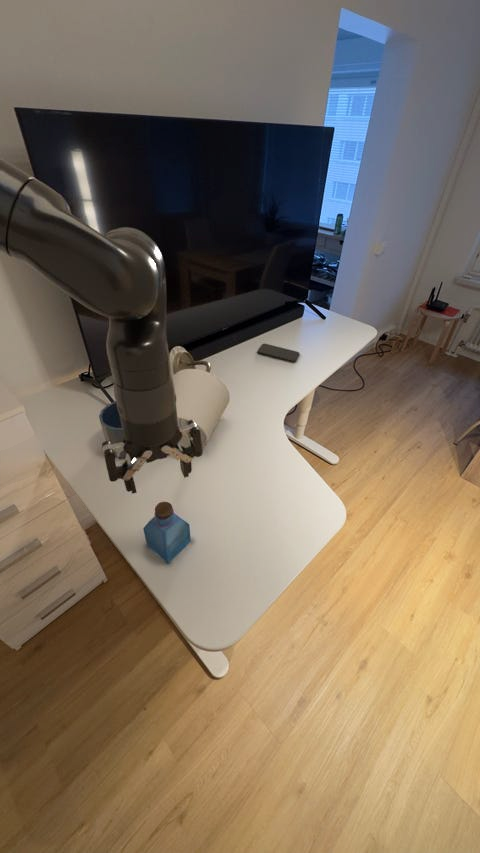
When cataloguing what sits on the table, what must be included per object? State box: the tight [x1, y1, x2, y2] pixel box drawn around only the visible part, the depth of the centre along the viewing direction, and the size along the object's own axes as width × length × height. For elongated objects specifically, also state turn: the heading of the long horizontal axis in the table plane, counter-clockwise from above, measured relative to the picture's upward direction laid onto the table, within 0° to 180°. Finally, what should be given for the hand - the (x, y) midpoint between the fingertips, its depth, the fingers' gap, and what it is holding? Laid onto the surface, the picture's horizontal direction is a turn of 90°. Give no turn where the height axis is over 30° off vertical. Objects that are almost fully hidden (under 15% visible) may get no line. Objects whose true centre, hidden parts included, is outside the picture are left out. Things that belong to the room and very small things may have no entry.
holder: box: [98, 400, 127, 460], centre depth 87 cm, size 12×12×10 cm
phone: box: [257, 343, 300, 363], centre depth 130 cm, size 7×1×15 cm
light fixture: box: [169, 345, 231, 448], centre depth 96 cm, size 17×19×34 cm
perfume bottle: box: [142, 501, 192, 564], centre depth 66 cm, size 6×6×12 cm
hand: (159, 481), depth 56 cm, fingers open, 8 cm apart
